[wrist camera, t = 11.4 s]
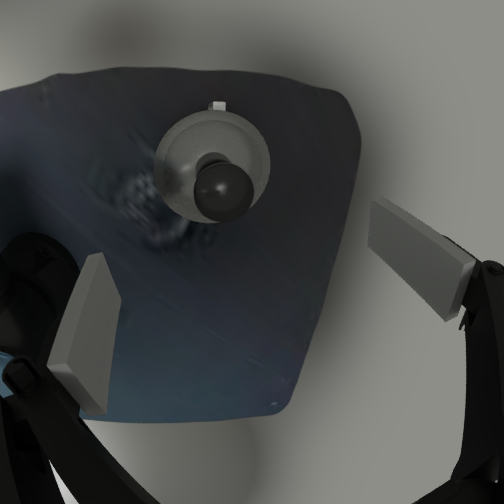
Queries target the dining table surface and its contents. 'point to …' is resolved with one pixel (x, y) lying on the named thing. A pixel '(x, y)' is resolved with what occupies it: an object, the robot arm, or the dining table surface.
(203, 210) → the lid
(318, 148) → the dining table surface
